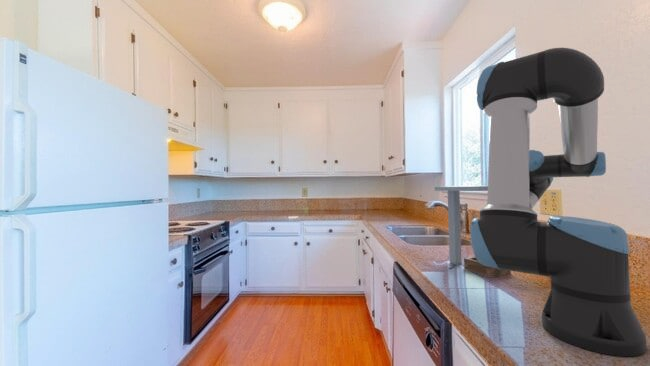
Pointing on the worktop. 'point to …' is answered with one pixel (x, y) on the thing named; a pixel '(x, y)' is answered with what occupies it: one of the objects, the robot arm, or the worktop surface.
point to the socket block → (482, 268)
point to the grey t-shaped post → (456, 218)
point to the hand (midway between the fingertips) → (487, 248)
